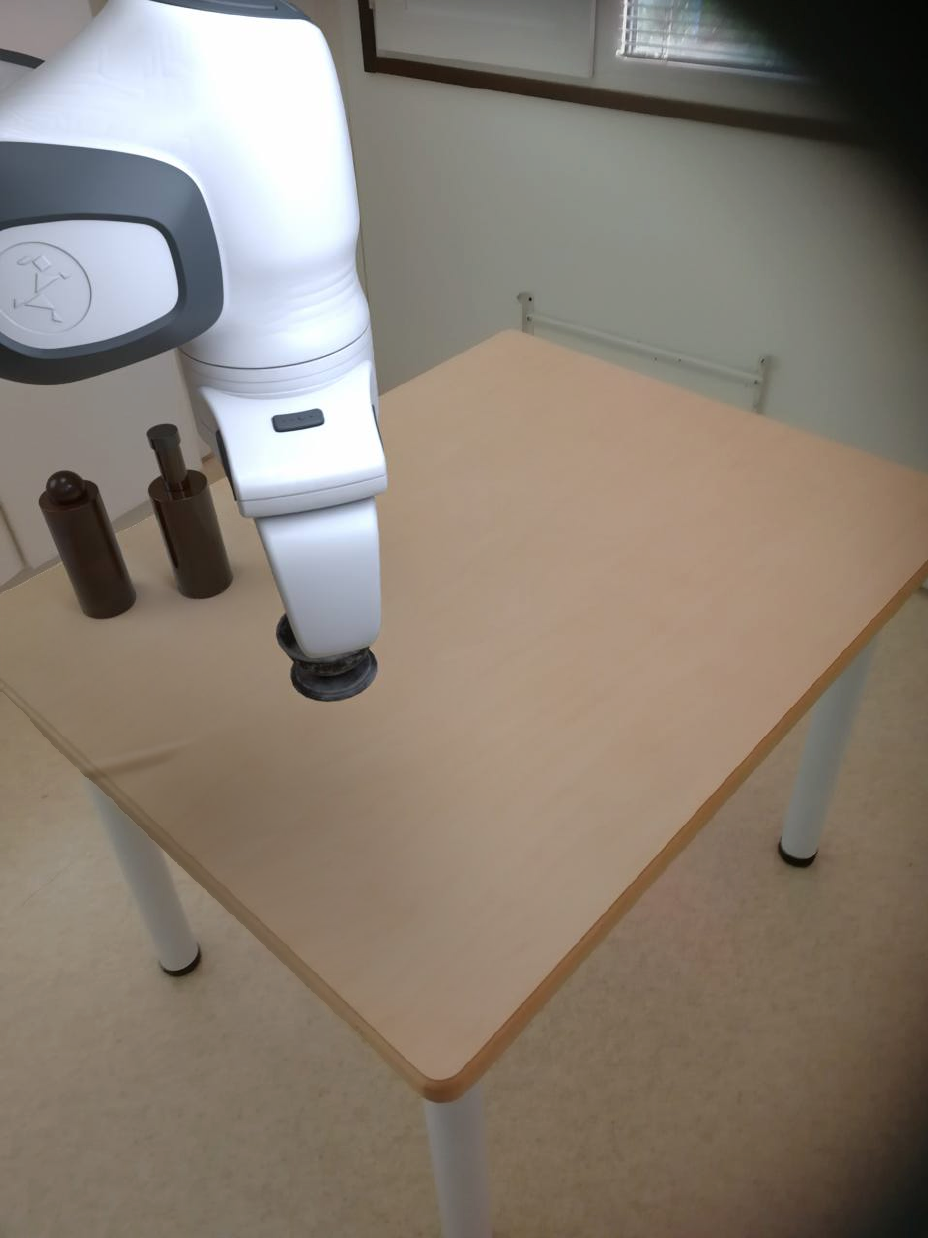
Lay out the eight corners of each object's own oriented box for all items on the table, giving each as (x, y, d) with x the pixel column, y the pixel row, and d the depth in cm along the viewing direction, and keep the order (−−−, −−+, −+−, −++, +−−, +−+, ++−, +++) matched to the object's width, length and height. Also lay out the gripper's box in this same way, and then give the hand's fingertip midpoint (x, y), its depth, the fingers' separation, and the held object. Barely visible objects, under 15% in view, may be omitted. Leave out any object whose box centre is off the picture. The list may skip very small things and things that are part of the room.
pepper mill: (81, 624, 88) (27, 494, 78) (82, 591, 91) (31, 463, 82) (136, 612, 89) (90, 482, 79) (135, 580, 92) (90, 452, 83)
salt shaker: (401, 658, 58) (384, 493, 50) (342, 719, 55) (313, 551, 47) (326, 626, 61) (298, 464, 53) (265, 682, 57) (225, 517, 49)
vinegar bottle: (179, 604, 89) (131, 451, 78) (176, 571, 93) (129, 421, 82) (235, 592, 90) (195, 440, 79) (230, 560, 94) (191, 411, 83)
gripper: (200, 308, 52) (247, 516, 61) (238, 510, 37) (292, 746, 46) (314, 292, 53) (343, 499, 63) (395, 481, 39) (418, 717, 48)
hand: (322, 606), depth 54 cm, fingers closed on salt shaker, 3 cm apart
